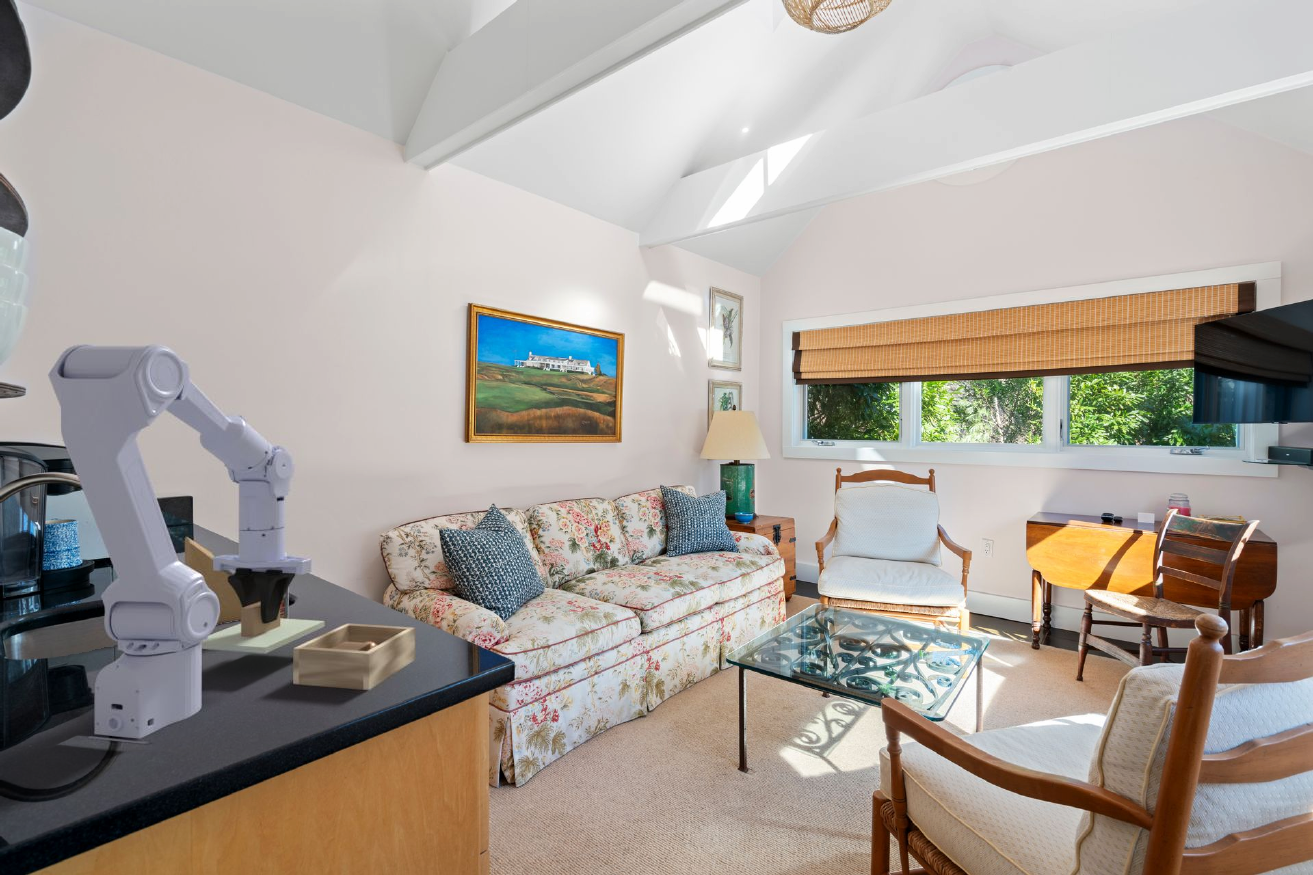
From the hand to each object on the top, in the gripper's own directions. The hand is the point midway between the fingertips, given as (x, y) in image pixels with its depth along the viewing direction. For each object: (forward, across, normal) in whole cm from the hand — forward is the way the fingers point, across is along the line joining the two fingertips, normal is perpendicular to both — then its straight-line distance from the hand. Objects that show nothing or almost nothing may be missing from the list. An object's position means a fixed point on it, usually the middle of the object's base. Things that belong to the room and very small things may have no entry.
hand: (262, 620), depth 91 cm
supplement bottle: (+7, +12, -15) cm, 20 cm away
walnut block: (+6, -16, +3) cm, 17 cm away
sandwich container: (+7, +24, -22) cm, 34 cm away
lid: (+2, 0, 0) cm, 2 cm away
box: (+7, -16, +1) cm, 17 cm away
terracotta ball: (+6, -16, -2) cm, 17 cm away
